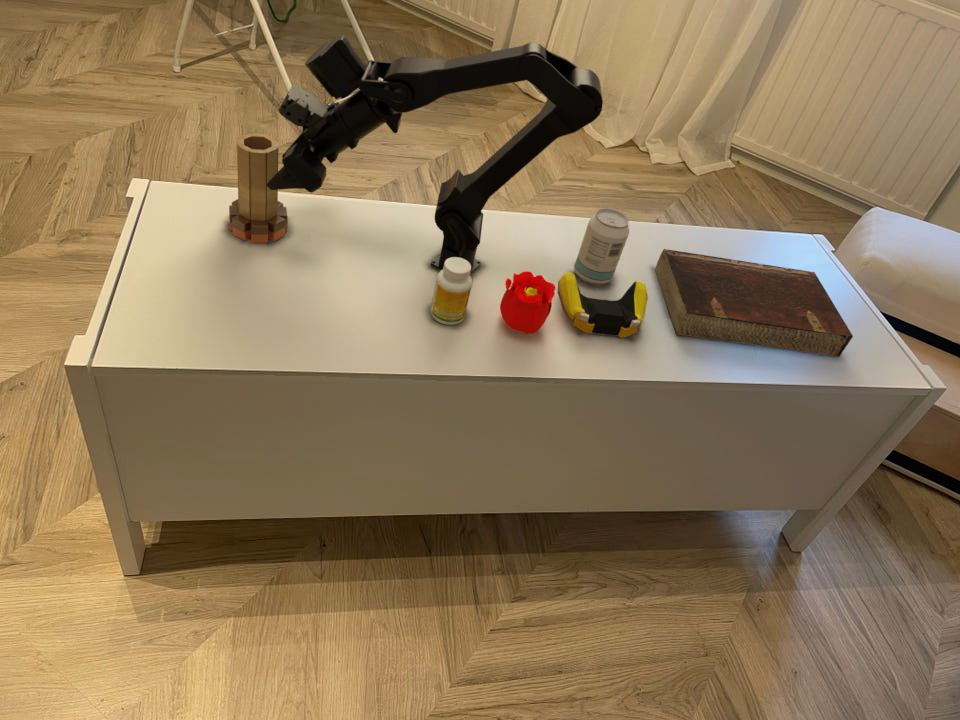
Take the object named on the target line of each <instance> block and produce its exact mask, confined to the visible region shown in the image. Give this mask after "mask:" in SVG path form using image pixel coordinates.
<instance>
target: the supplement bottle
mask: <svg viewBox="0 0 960 720" xmlns="http://www.w3.org/2000/svg"><path fill="white" fill-rule="evenodd" d="M470 272H471V265H470V263H469V262H468V261H467V260H465V259H463V258H459V257H451V258H448V259H447V260H446V261H445V263H444V267H443V270H439V271H438V274H437V275H436V279H435V284H434V290H433V295H432V300H431V305H430V314H431V316H432V318H433V319H434V320H436V321H437V322H439V323H440V324H444V325H450V326H451V325H457V324H459V323H461V322H462V321H463V320H464V319H465V317H466V312H467V308H468V303H469V298H470V295H471V291H472V286H473V279H472V277H471V274H470Z"/></svg>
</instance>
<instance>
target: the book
mask: <svg viewBox="0 0 960 720" xmlns="http://www.w3.org/2000/svg"><path fill="white" fill-rule="evenodd" d="M654 271H655V274H656V277H657V280H658V283H659V286H660V289H661V293H662V295H663V298H664V301H665V304H666V308H667V309H668V313H669V316H670V318H671V319H670V320H671V322H672V325H673V329H674V331H675V334H676V335H680V336H687V337H694V338H701V339H708V340H716V341H723V342H730V343H735V344H736V343H737V344H745V345H751V346H757V347H759V346H760V347H766V348H774V349H780V350H781V349H782V350H786V351H787V350H788V351H794V352H801V353H808V354H809V353H810V354H816V355H823V356H830V357H836V358H837V357H838V358H840V357H841V356H842V354H843V352H844V351H845V349H846V348H847V347H848V345H849V343H850V342H851V340H852V339H853V338H854V335H853V334H852V332H851V330H850V328H849V326H848V325H847V324H846V322H845V320H844V319H843V317H842V315H841V314H840V312H839V310H838V309H837V307H836V305H835V304H834V302H833V300H832V299H831V297H830V296H829V294H828V292H827V291H826V289H825V287H824V285H823V284H822V282H821V280H820V278H819V277H818V275H817V273H816V272H815V271H809V270H803V269H797V268H789V267H784V266H778V265H770V264H765V263H758V262H752V261H746V260H745V261H744V260H737V259H732V258H727V257H726V258H725V257H720V256H712V255H706V254H699V253H693V252H687V251H679V250H672V249H668V248H667V249H666V248H663V249H662V251H661V254H660V255H659V258H658V259H657V262H656V265H655V269H654Z"/></svg>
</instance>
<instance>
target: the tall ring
mask: <svg viewBox="0 0 960 720" xmlns="http://www.w3.org/2000/svg"><path fill="white" fill-rule="evenodd" d="M236 155H237V156H236V160H237V161H236V162H237V199H238V211H239V214H240V215H242V216H243V217H245V218H247V219H249V220H252V221H266V220H269V219H271V218H273V217H275V216H276V215H277V207H278V201H279V200H278V199H279V197H278V196H279V190H270V189H269V188H268V186H267V183H268V182H269V181H270V180H271V179H272V178H273V176H274V175H275V174H276V173H277V172H278V171H279V140H278V139H276V138H274V137H272V136H270V135H268V134H265V133H255V132H250V133H249V132H247V133H245V134H243V135H239V136H238V137H237V138H236Z"/></svg>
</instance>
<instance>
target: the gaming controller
mask: <svg viewBox="0 0 960 720" xmlns="http://www.w3.org/2000/svg"><path fill="white" fill-rule="evenodd" d="M557 296H558V299H559V302H560V306H561V309H562V311H563V313H564V314H565V316H566V318H567V319H568V321H569V322H570V323H571V324H572V326H573V327H575V328H577V329H579V330H580V331H583V332H584V333H587V334H596V335H597V334H598V335H605V336H615V337H619V338H622V339H623V338H626V337H630V336H633V335H634V334H636V333H637V332H638V331H639V330H640V328H641V326H642V324H643V322H644V317H645V314H646V309H647V304H648V300H649V295H648V291H647V287H646V283H643V282H641V281H638V280H635V281H634V282H633V283H632V284H631V285H630V286H629V288H628V289H627V290H626V291H625V292H624V294H623V296H621V298H619V299H617V300H608V299H602V298H601V299H600V298H594V297H593V298H592V297H587V296H585V295H584V294H583V293H582V292H581V290H580V287H579V284H578V281H577V278H576V275H575V273H573V272H571V271H569V272H566V273H565V274H563V275H562V276H561V277H560V278H559V279H558V281H557Z"/></svg>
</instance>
